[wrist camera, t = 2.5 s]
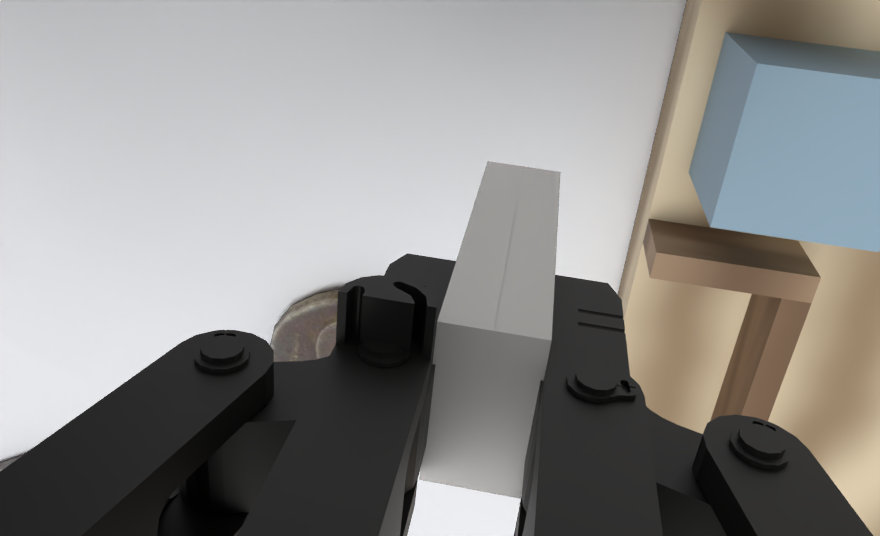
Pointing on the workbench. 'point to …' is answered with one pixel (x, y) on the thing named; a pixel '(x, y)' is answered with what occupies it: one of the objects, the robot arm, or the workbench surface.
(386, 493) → the robot arm
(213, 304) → the workbench surface
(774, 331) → the tan flat ridged piece
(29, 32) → the workbench surface
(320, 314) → the wrench
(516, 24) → the workbench surface
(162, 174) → the workbench surface
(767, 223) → the block
